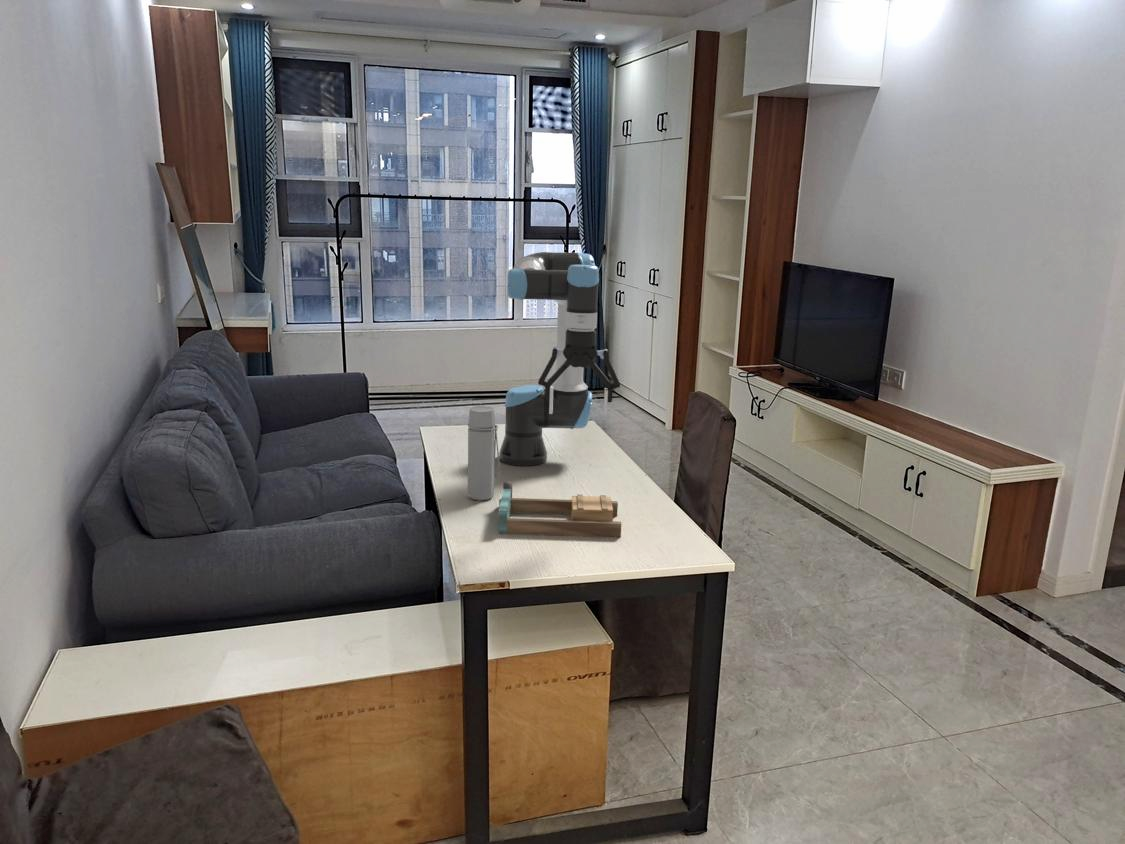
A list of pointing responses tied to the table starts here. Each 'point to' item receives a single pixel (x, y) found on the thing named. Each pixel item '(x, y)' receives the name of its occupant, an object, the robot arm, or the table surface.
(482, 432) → the water bottle
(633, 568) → the table surface
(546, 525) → the bay
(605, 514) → the crate
